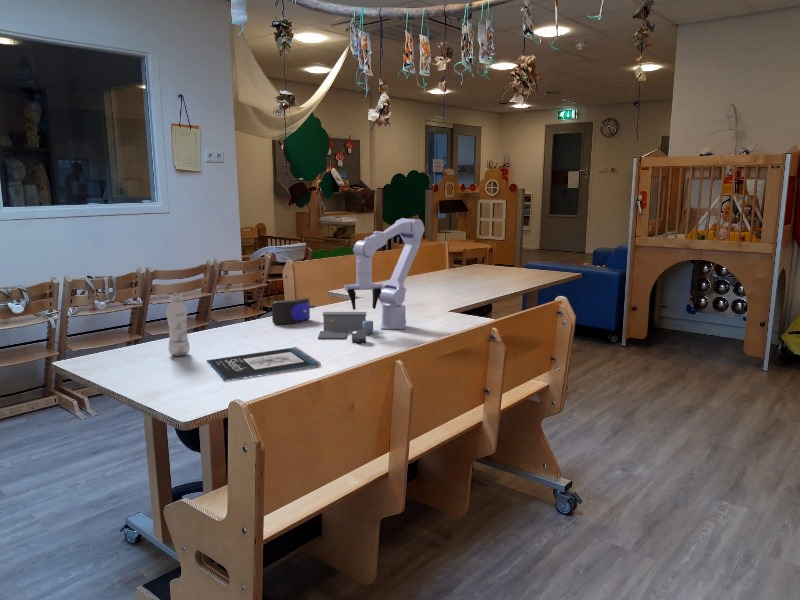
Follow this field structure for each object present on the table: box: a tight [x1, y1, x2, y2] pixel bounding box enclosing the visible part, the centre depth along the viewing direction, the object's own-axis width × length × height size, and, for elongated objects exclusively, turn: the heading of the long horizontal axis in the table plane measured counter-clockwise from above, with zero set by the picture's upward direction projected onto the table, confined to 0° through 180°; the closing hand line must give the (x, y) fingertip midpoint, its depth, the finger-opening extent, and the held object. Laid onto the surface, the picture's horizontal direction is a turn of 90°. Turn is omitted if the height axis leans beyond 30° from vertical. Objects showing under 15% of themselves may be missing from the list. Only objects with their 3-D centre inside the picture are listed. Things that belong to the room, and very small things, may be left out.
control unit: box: [322, 311, 367, 332], centre depth 234 cm, size 17×5×7 cm, turn 92°
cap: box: [351, 330, 367, 345], centre depth 216 cm, size 5×5×4 cm
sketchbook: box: [206, 346, 322, 382], centre depth 189 cm, size 22×30×2 cm
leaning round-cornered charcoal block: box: [271, 297, 311, 326], centre depth 244 cm, size 16×5×9 cm, turn 125°
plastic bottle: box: [165, 293, 190, 357], centre depth 196 cm, size 6×7×20 cm
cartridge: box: [363, 320, 374, 337], centre depth 227 cm, size 4×4×5 cm
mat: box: [317, 330, 348, 340], centre depth 225 cm, size 10×10×1 cm
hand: (364, 308), depth 228 cm, fingers open, 7 cm apart
